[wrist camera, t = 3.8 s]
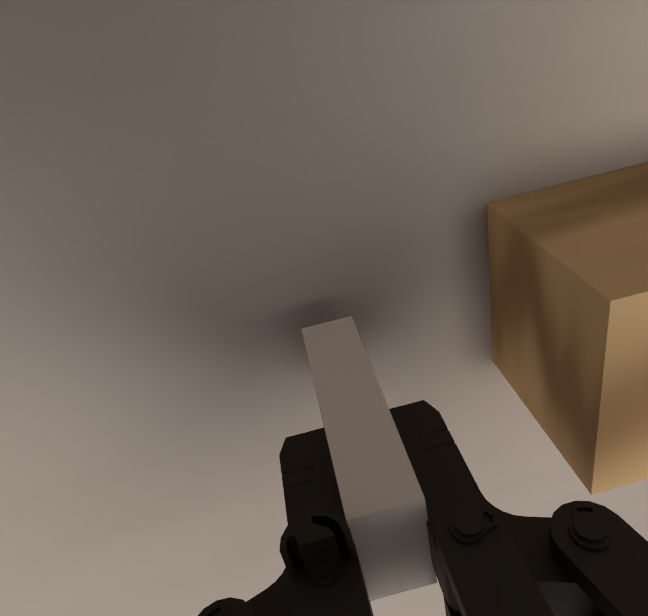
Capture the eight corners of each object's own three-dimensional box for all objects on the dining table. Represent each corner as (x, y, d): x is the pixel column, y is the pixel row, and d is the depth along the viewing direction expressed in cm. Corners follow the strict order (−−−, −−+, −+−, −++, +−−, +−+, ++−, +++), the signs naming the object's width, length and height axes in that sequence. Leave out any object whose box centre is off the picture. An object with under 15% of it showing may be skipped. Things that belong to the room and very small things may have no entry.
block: (485, 202, 16) (610, 301, 11) (676, 153, 16) (888, 227, 11) (492, 359, 19) (591, 494, 14) (651, 317, 19) (807, 434, 14)
